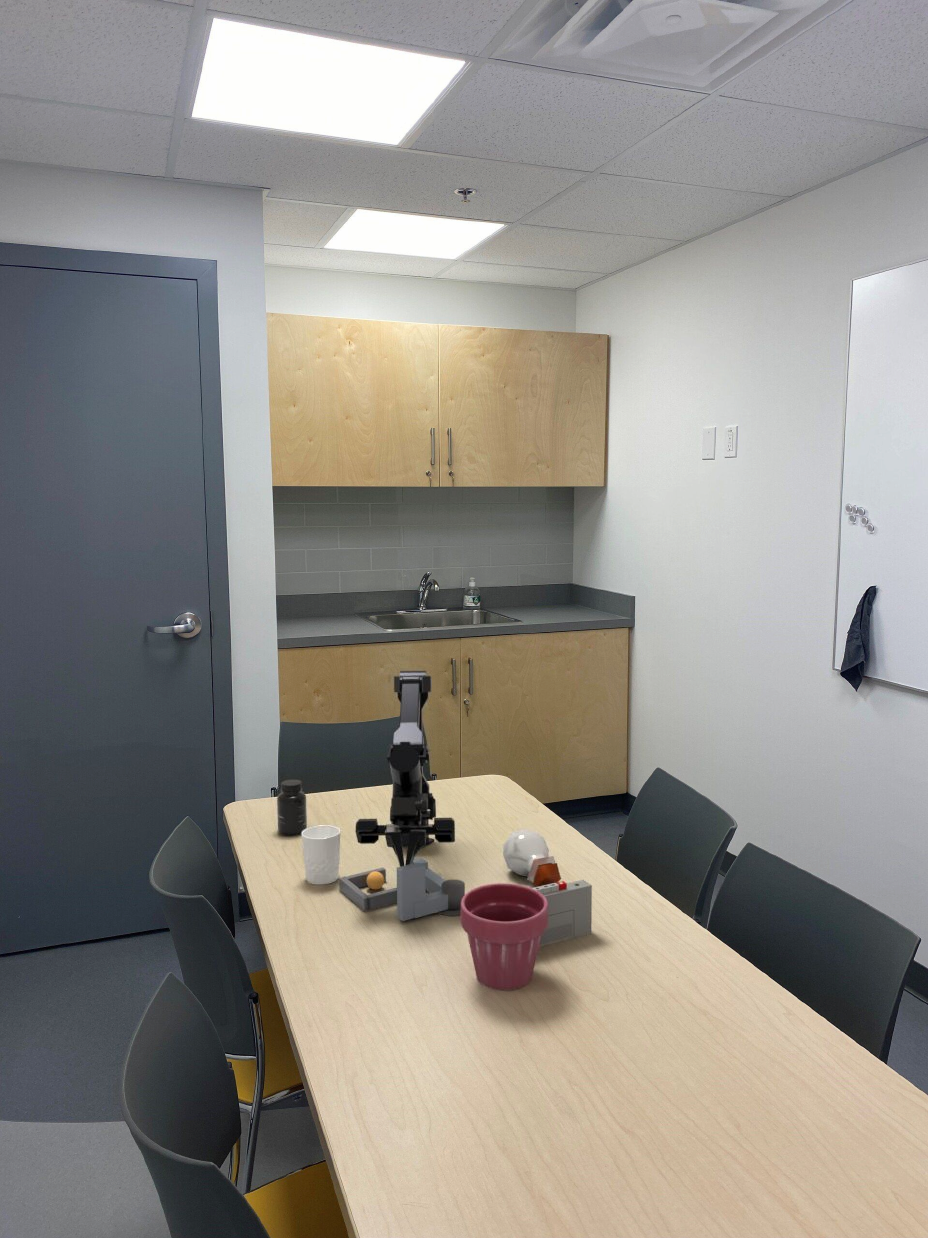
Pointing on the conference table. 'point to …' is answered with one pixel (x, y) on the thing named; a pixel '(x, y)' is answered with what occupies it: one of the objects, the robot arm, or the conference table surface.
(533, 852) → the potion bottle
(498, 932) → the plant pot
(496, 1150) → the conference table surface
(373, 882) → the ball
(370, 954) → the conference table surface
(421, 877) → the lever
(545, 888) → the cassette player
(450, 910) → the pivot plate
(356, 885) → the pocket
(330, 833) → the white cup
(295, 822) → the supplement bottle
